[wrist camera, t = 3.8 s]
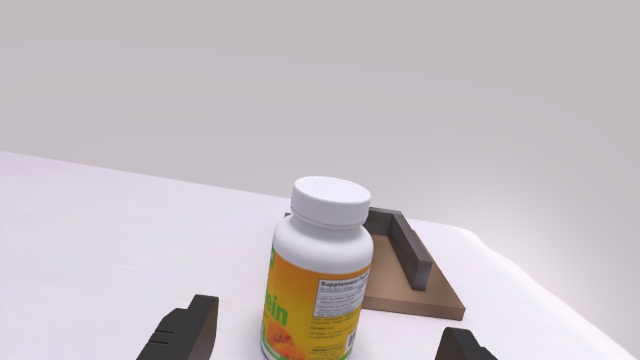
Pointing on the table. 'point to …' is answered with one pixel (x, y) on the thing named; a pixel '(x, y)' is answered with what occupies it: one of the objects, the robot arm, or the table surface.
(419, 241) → the u holder
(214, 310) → the robot arm
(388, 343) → the table surface
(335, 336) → the supplement bottle
